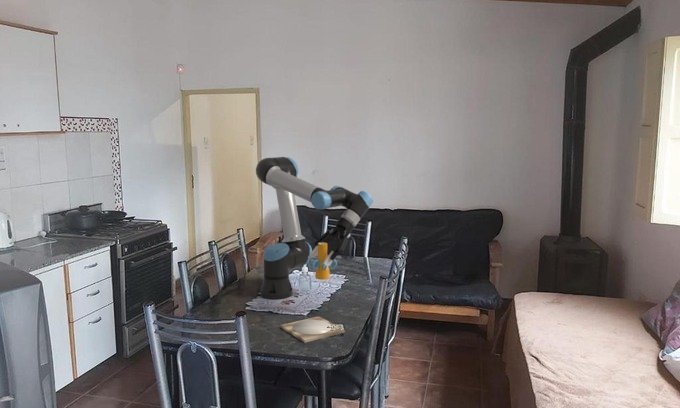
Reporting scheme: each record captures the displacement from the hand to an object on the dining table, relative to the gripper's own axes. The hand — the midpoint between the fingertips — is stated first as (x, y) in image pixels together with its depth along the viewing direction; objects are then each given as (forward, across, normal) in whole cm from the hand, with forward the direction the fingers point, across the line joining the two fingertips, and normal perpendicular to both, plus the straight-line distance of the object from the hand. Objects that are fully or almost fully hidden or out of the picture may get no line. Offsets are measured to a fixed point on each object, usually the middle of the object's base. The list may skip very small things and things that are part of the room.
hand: (317, 262), depth 222 cm
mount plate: (+24, -15, -7) cm, 29 cm away
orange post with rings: (+3, 0, -7) cm, 8 cm away
